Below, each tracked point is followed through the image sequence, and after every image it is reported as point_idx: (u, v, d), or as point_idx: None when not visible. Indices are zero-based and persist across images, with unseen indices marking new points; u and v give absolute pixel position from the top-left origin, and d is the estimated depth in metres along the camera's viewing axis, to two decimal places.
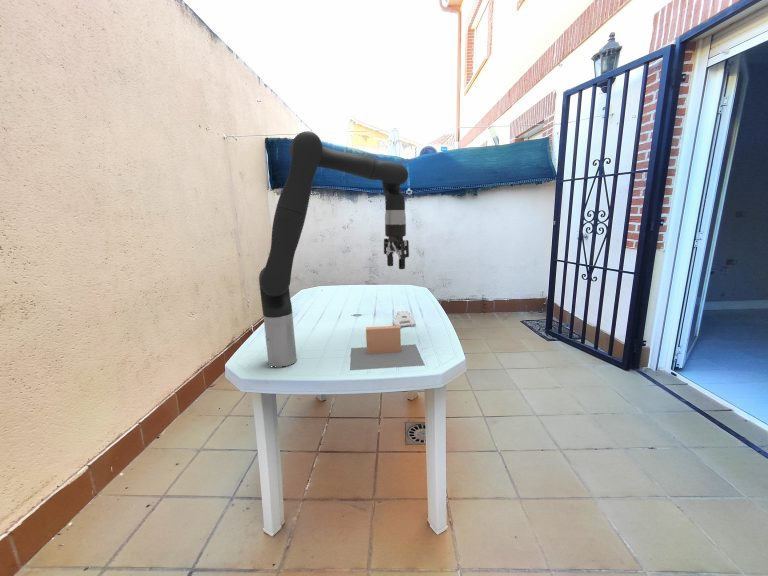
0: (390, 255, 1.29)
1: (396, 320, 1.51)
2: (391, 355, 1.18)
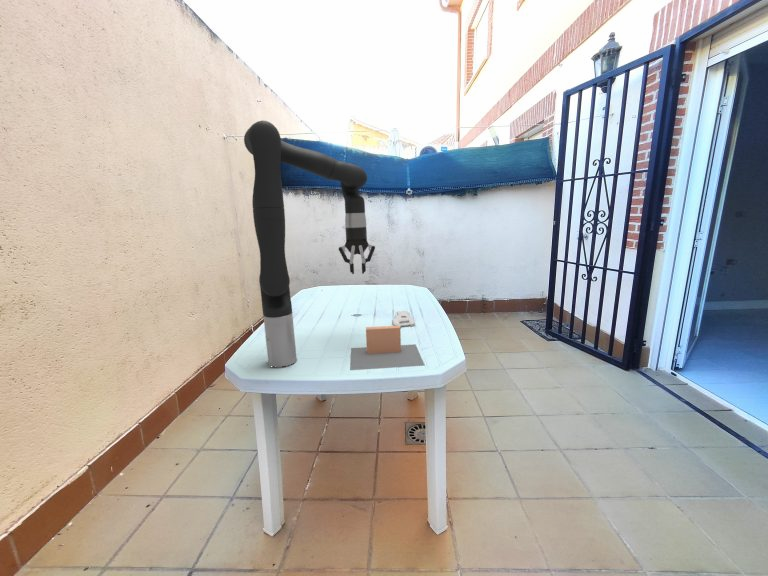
0: None
1: (395, 320, 1.51)
2: (391, 355, 1.18)
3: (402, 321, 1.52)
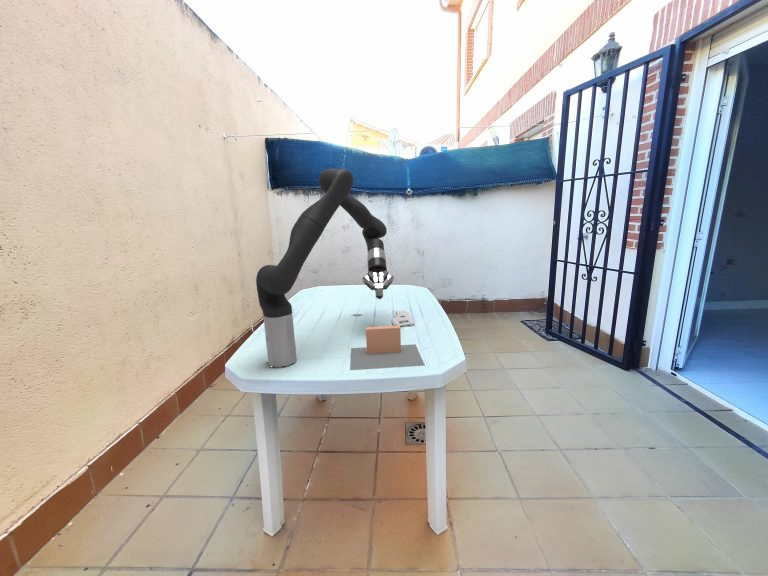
0: None
1: (395, 320, 1.51)
2: (391, 355, 1.18)
3: (401, 321, 1.52)
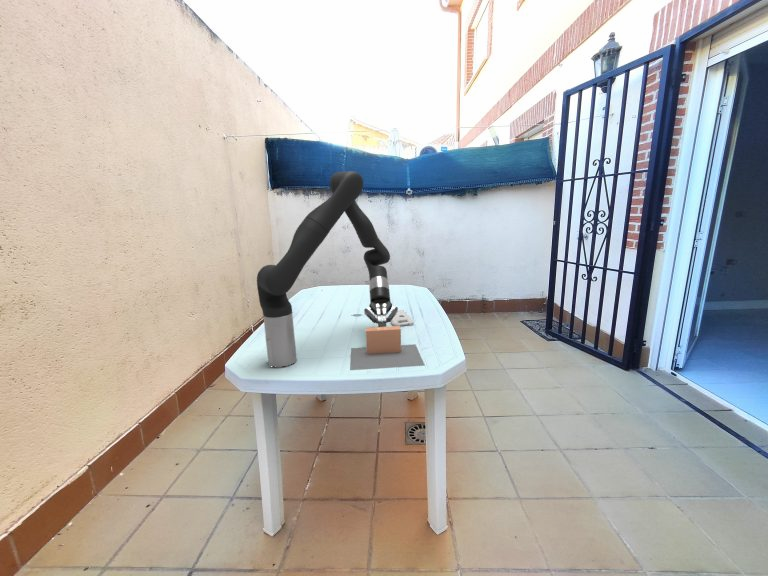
0: (381, 322, 1.23)
1: (394, 319, 1.52)
2: (391, 355, 1.18)
3: (400, 320, 1.53)
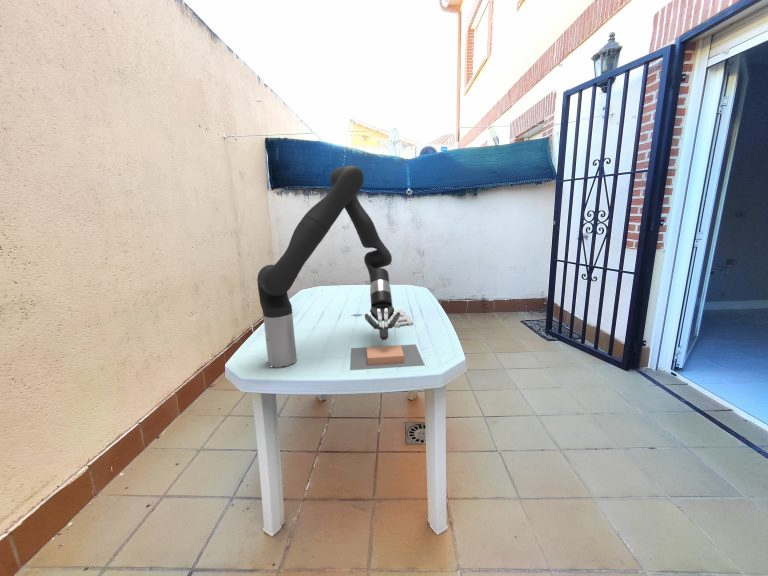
0: (382, 328, 1.16)
1: None
2: None
3: (400, 320, 1.53)
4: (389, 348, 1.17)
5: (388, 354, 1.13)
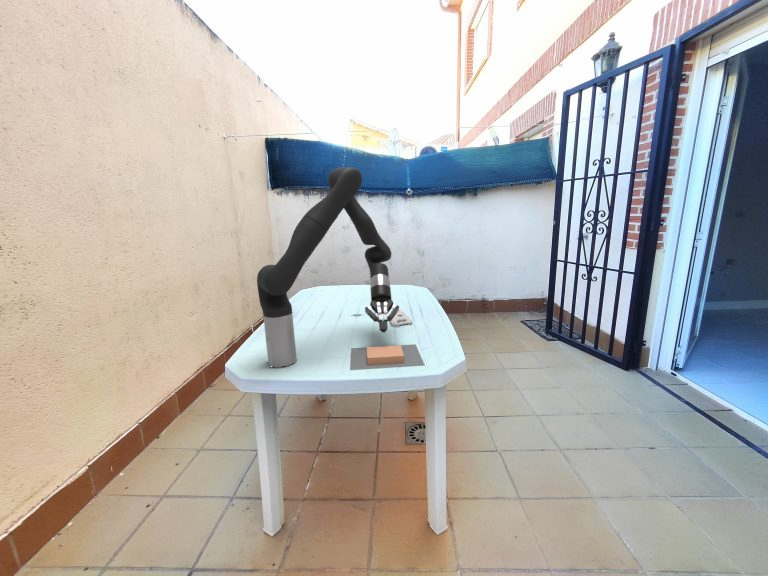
0: None
1: (393, 319, 1.52)
2: None
3: (399, 320, 1.53)
4: (389, 348, 1.17)
5: (388, 354, 1.13)
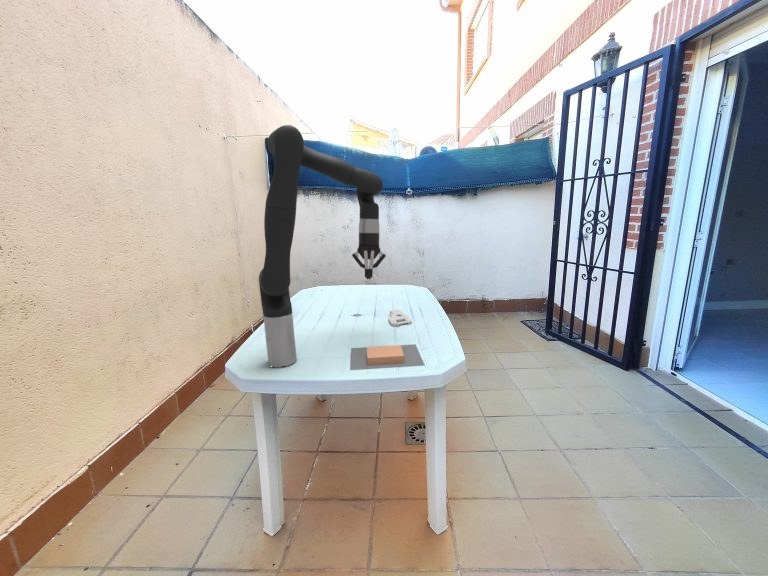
0: None
1: (392, 319, 1.53)
2: None
3: (398, 320, 1.54)
4: (389, 348, 1.17)
5: (388, 354, 1.13)
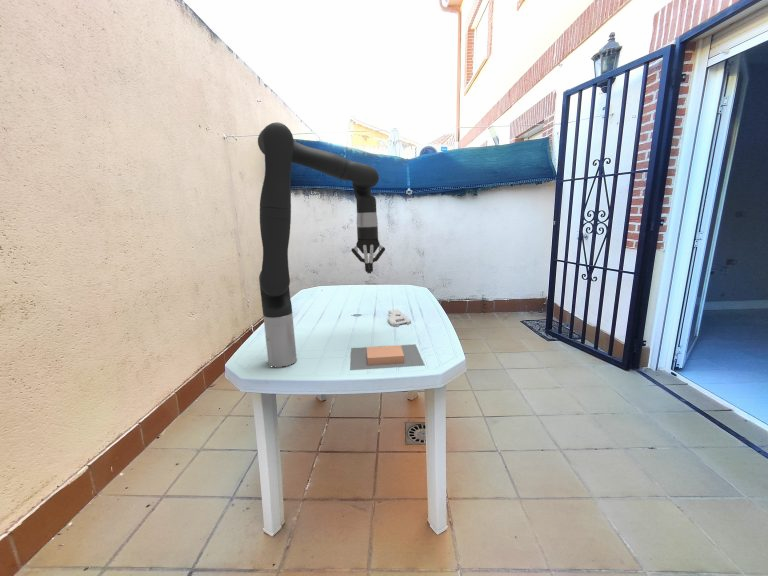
0: None
1: (392, 319, 1.53)
2: None
3: (398, 319, 1.54)
4: (389, 348, 1.17)
5: (388, 354, 1.13)
